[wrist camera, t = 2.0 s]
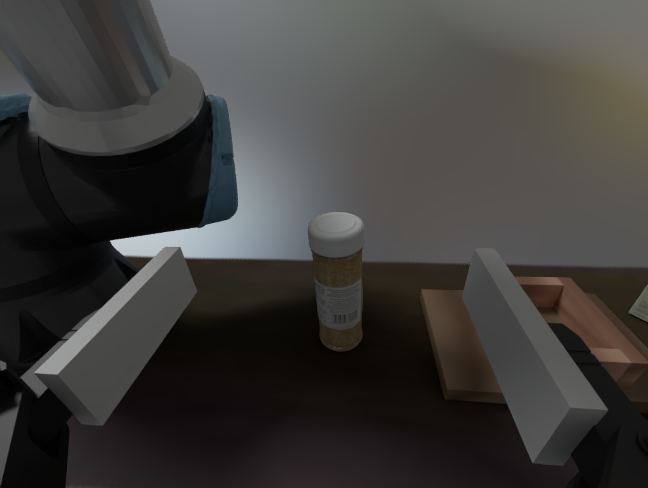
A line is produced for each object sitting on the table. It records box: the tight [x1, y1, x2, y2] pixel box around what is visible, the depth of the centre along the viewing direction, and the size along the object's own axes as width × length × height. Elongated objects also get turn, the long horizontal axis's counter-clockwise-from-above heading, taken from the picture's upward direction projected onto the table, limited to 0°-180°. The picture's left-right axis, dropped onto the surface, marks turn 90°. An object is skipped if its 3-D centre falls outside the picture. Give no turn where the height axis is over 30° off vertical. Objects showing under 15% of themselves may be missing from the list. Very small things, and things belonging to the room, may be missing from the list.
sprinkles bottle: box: [308, 212, 364, 352], centre depth 27 cm, size 5×5×14 cm
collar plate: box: [420, 277, 648, 413], centre depth 27 cm, size 18×12×4 cm, turn 84°
